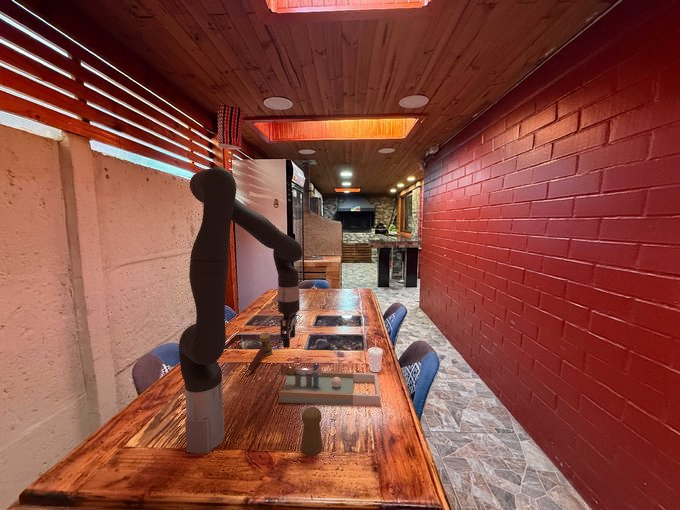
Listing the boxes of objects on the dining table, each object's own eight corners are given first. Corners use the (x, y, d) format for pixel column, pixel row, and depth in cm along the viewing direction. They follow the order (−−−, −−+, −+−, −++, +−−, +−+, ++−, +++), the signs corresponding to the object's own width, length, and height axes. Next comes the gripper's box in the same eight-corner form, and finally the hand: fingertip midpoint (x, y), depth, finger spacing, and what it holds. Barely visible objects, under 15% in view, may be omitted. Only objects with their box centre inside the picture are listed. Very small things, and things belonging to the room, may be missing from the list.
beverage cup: (365, 368, 116) (365, 336, 114) (378, 366, 118) (378, 334, 117) (371, 376, 110) (372, 342, 109) (385, 373, 112) (386, 340, 111)
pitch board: (379, 407, 91) (380, 389, 91) (279, 403, 93) (279, 384, 93) (376, 383, 105) (377, 367, 105) (289, 379, 107) (289, 363, 106)
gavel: (254, 385, 110) (250, 365, 107) (243, 384, 111) (239, 364, 107) (273, 350, 130) (271, 332, 126) (264, 349, 130) (262, 331, 127)
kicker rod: (321, 387, 97) (321, 365, 97) (280, 386, 98) (280, 364, 97) (322, 382, 101) (322, 360, 100) (283, 380, 102) (283, 359, 101)
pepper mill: (311, 436, 79) (311, 400, 78) (327, 447, 75) (327, 409, 74) (296, 449, 74) (295, 411, 73) (311, 461, 70) (311, 422, 69)
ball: (341, 389, 97) (341, 380, 97) (331, 389, 97) (331, 380, 97) (341, 384, 101) (341, 375, 100) (332, 383, 101) (332, 374, 100)
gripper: (294, 304, 89) (295, 351, 91) (303, 293, 103) (303, 334, 105) (272, 303, 89) (273, 351, 91) (283, 292, 103) (284, 333, 105)
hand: (289, 342), depth 98 cm, fingers open, 8 cm apart
